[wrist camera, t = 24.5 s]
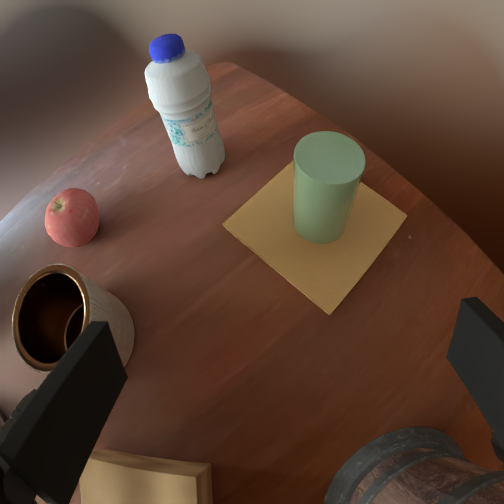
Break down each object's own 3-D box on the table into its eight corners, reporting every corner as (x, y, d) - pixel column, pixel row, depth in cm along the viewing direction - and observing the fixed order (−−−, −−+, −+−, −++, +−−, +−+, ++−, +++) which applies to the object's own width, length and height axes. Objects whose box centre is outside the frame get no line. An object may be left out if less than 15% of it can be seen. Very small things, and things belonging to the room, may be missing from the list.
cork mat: (222, 226, 38) (221, 224, 37) (307, 149, 42) (307, 147, 41) (329, 315, 32) (330, 314, 32) (406, 217, 36) (407, 215, 36)
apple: (63, 262, 38) (28, 235, 31) (68, 217, 41) (38, 186, 34) (108, 250, 38) (76, 219, 31) (110, 204, 41) (83, 169, 34)
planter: (56, 310, 35) (8, 284, 26) (125, 281, 36) (83, 245, 27) (72, 392, 30) (17, 384, 22) (148, 368, 31) (103, 357, 23)
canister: (280, 221, 37) (278, 157, 27) (315, 187, 38) (322, 121, 28) (324, 255, 35) (339, 197, 25) (357, 217, 36) (378, 155, 26)
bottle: (201, 192, 40) (152, 60, 22) (171, 168, 43) (119, 47, 24) (238, 161, 42) (213, 28, 24) (206, 140, 44) (172, 19, 26)
